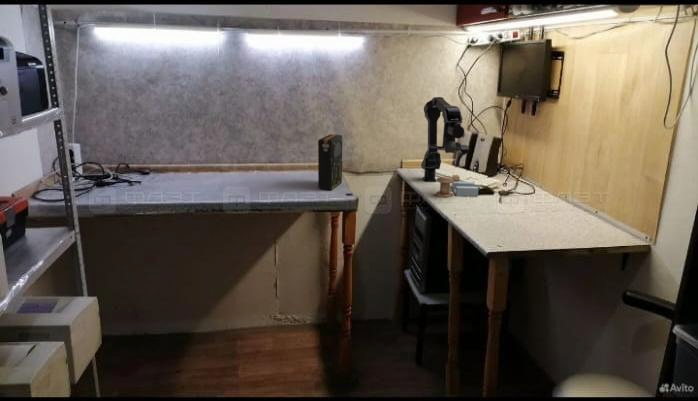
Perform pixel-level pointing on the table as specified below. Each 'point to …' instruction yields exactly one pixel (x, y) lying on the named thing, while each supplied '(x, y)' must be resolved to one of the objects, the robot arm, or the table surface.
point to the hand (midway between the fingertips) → (446, 166)
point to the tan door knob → (444, 187)
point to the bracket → (465, 189)
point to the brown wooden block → (455, 178)
